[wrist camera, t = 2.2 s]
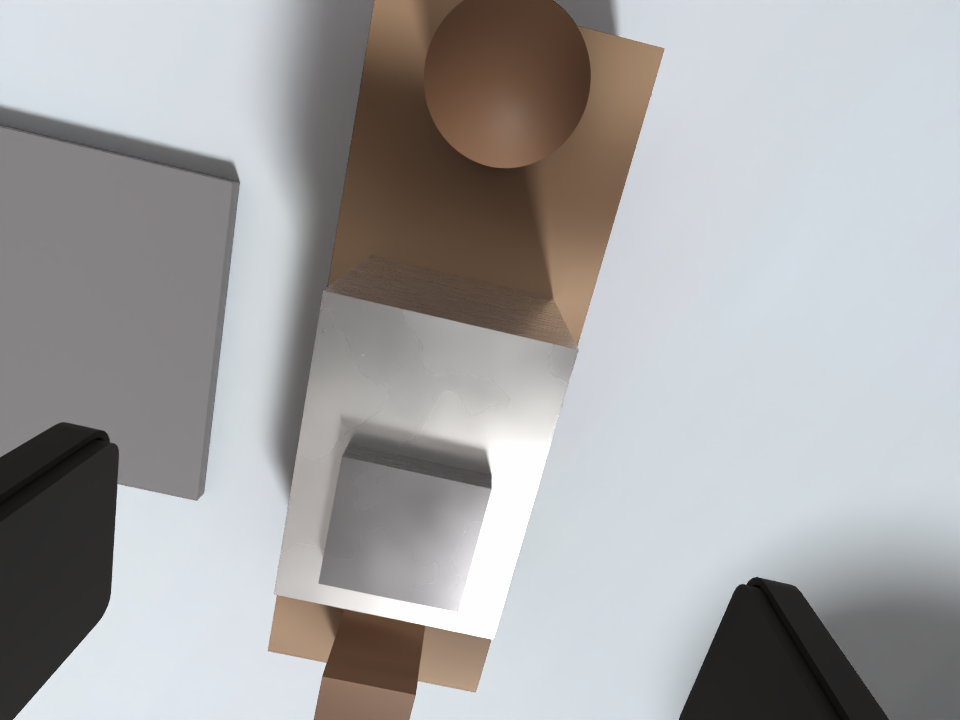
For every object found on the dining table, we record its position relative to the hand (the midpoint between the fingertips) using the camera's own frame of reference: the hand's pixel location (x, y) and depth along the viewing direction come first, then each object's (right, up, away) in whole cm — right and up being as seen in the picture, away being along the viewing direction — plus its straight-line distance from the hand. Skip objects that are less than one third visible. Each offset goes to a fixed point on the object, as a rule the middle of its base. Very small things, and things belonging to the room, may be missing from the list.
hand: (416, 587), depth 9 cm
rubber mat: (-14, +5, +13) cm, 20 cm away
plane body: (0, +4, +13) cm, 14 cm away
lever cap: (0, +2, +8) cm, 9 cm away
